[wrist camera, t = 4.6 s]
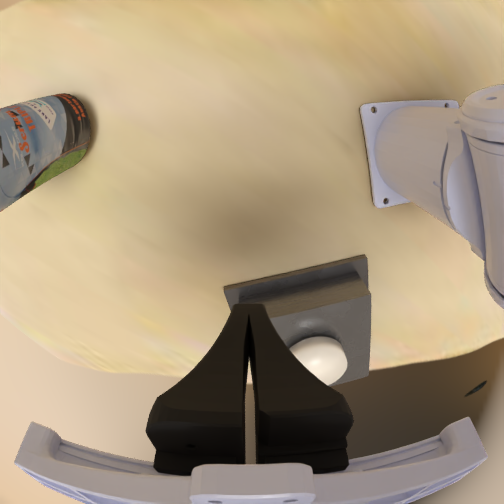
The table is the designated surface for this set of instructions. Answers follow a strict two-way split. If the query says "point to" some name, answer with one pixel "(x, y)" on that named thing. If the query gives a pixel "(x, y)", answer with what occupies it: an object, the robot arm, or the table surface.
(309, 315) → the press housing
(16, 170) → the beverage can
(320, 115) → the table surface
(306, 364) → the plunger
